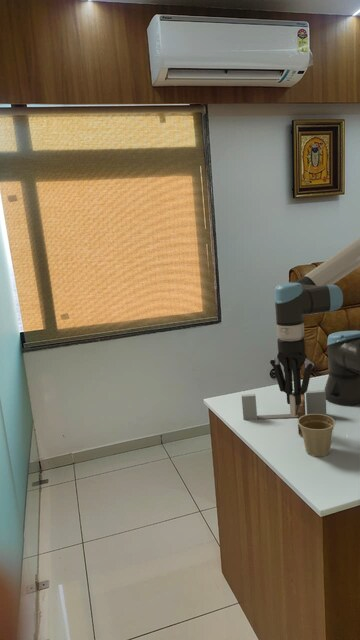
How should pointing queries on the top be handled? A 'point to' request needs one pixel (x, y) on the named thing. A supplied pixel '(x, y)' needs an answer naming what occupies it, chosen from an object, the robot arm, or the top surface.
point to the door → (301, 411)
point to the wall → (313, 406)
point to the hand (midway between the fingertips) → (294, 414)
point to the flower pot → (317, 433)
